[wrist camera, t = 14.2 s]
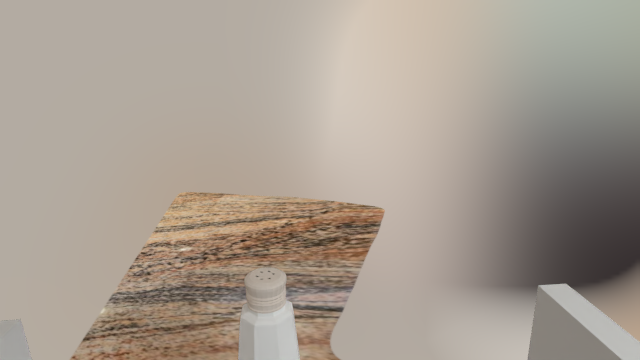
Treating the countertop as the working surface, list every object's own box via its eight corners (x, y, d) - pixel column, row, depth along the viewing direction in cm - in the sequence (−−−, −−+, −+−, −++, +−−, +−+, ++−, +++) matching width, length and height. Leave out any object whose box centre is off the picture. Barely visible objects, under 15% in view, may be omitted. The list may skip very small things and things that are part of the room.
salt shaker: (291, 451, 26) (287, 304, 23) (219, 429, 28) (206, 289, 25) (318, 390, 31) (316, 262, 28) (255, 374, 33) (248, 252, 30)
